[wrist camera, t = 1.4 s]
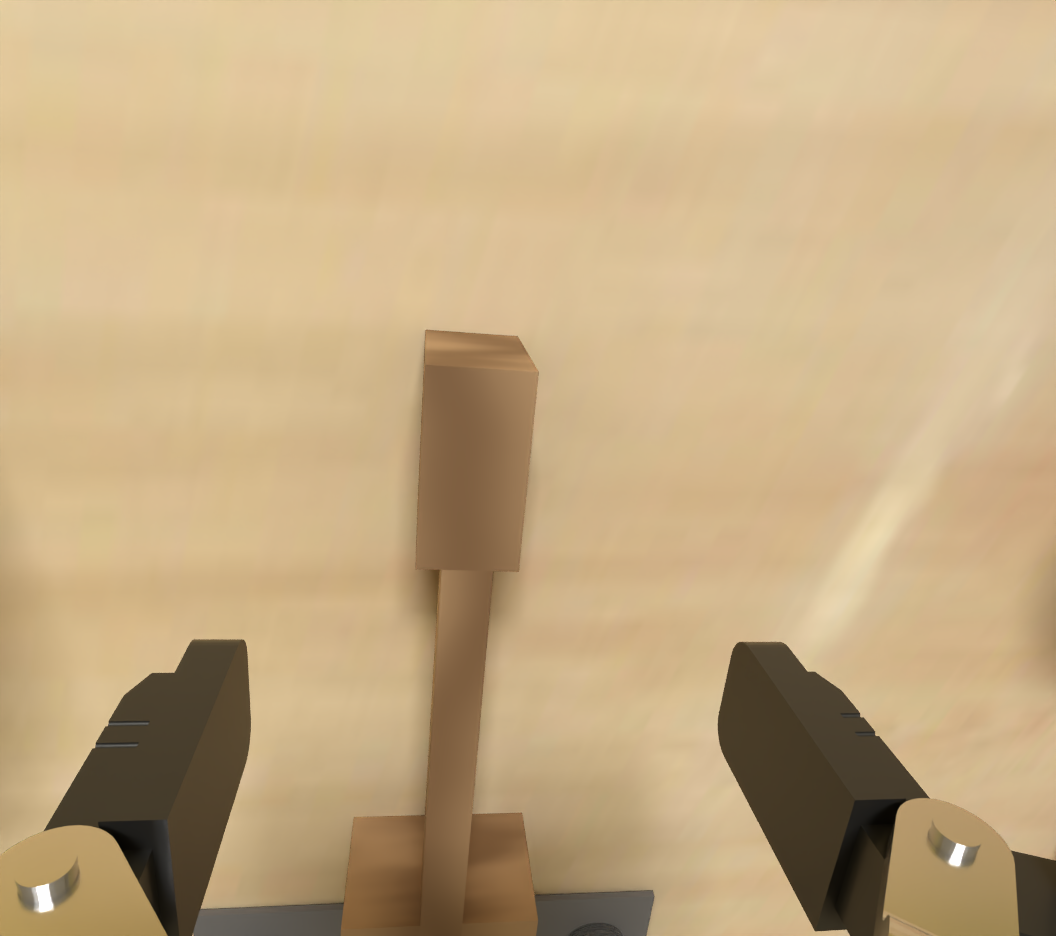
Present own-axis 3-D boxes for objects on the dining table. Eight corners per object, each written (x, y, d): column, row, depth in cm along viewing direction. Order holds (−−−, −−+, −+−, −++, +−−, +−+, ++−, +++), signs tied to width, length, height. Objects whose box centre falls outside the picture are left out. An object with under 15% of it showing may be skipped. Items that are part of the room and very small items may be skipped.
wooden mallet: (576, 340, 25) (611, 376, 20) (518, 839, 32) (533, 949, 28) (362, 325, 24) (346, 359, 19) (353, 844, 31) (340, 960, 27)
